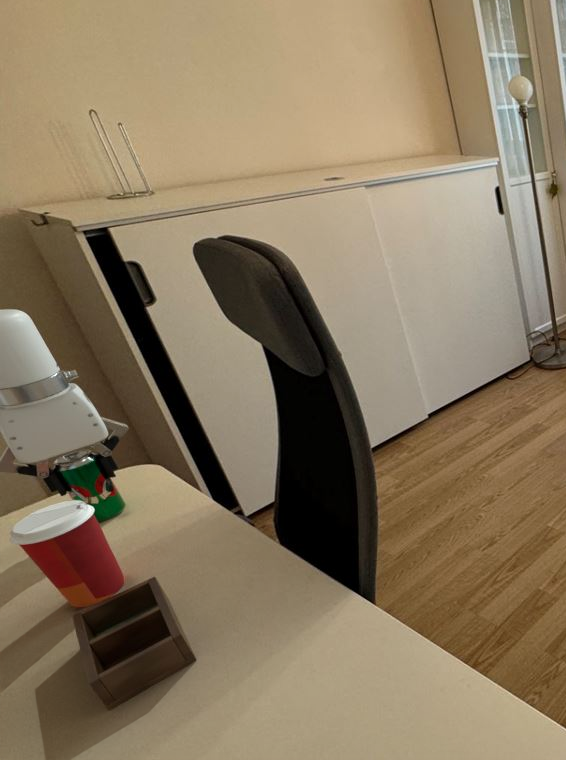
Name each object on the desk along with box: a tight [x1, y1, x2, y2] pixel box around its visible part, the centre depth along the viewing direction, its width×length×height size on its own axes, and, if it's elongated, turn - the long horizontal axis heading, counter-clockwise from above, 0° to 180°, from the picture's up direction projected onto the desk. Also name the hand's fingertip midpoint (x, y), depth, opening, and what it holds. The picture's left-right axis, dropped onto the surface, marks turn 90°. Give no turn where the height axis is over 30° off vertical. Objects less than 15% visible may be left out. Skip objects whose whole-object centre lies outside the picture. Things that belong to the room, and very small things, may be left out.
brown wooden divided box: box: [71, 576, 197, 711], centre depth 71 cm, size 8×15×5 cm, turn 52°
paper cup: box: [9, 499, 126, 608], centre depth 78 cm, size 8×8×14 cm
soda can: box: [52, 449, 127, 523], centre depth 94 cm, size 5×5×12 cm
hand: (87, 482), depth 93 cm, fingers closed on soda can, 5 cm apart
